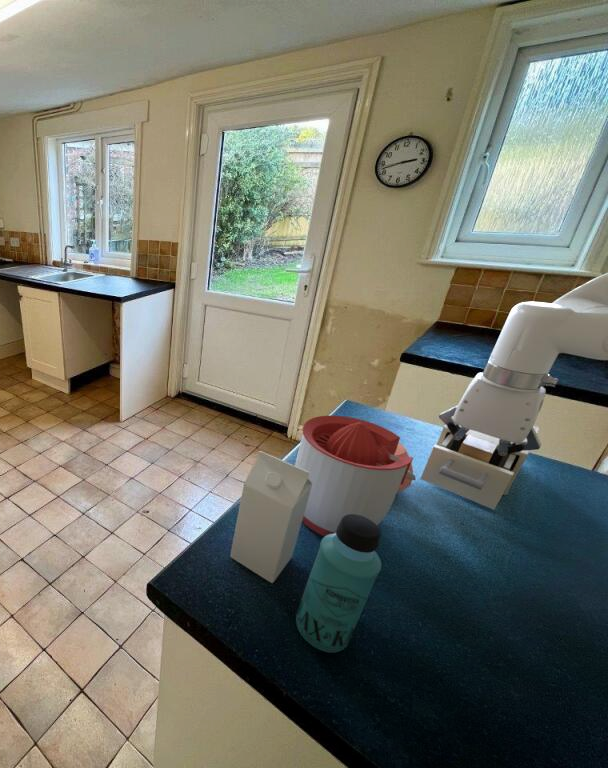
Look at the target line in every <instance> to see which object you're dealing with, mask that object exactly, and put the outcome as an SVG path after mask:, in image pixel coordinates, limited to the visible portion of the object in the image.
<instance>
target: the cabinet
mask: <svg viewBox="0 0 608 768" xmlns="http://www.w3.org/2000/svg"><path fill="white" fill-rule="evenodd" d="M452 419H453V416H452ZM459 426H460V425H459ZM460 427H461V426H460ZM533 428H534V430H535V432H536V434H537V435H538V433H539V431H540V429H541V426H537V425H535V424H534V425H533ZM450 433H451V432H450V430H449V429H448V427H447V425H446V424H444V426H443V428H442V430H441V432H440V435H439V437H438V440H437V442H436V444H435V445H438V446H441V444H442V443H443V442H444V441H445V439H446V438H447V437H448V436H449V434H450ZM465 435H466V437H467V436H468V435H470V436H473V437H476V438H479V439H482V440H485V441H488V442H491V443H494V444H497V445H498V446H499V438H495V437H492V436H489V435H486V434H483V433H480V432H477V431H474V430H471V429H470V430H469V431H468V432H467V433H466V434H465ZM466 437H465V438H466ZM526 441H527V439H526V438H525V440H524V441H523V442H526ZM511 443H514V442H511ZM498 446H497V448H498ZM530 451H531V450H527V451H526V450H524V451H520V452H515V453H513V454H516V457H515V459H514V461H513V463H512V465H511V467H510V469H509V471H511V472H514V474H513V476H512V478H511V480H510V482H509V484H508V485H507V487H506V489H505V491H504V493H503V495H504V496H506V495H507V494H508V493H509V491H510V489H511V486H513V483H514V481H515V479H516V477H518V474H519V472H520V471H521V469H522V467H523V464H524V463H525V462H526V458H527V457H528V456H529V454H530Z"/></svg>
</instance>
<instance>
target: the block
mask: <svg viewBox="0 0 608 768" xmlns="http://www.w3.org/2000/svg"><path fill="white" fill-rule="evenodd" d="M497 446H498V445H497V444H494V443H491V442H488V441H485V440H482V439H479V438H476V437H473V436H470V435H468V436H467V437H466V439H465V440H464V441H463V443H462V445H461V447H460V449H459V451H458V453H461V454H463V455H466V456H469V457H472V458H475V459H477V460H480V461H483V462H486V463H489V461H490V459H491V457H492V455H493V453H494V451H495V449H496V448H497Z"/></svg>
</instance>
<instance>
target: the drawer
mask: <svg viewBox="0 0 608 768" xmlns="http://www.w3.org/2000/svg"><path fill="white" fill-rule="evenodd" d="M453 441H454V438H453V435H452V433H450V434H449V436H448V437H447V438H446V439H445V441H444V442H443V443H442V444H441V446H438V445H436V444H434V445H433V447H432V450H431V452H430V454H429V457H428V459H427V461H426V464H425V466H424V469H423V470H422V473H421V475H420V480H422V481H424V482H427V483H429V484H431V485H433V486H436V487H438V488H441V489H443V490H446V491H448V492H451V493H453V494H455V495H458V496H460V497H462V498H465V499H467V500H470V501H473V502H474V503H476V504H479V505H482V506H484V507H486V508H489V509H490V510H491V509H492V510H496V508H497V506H498V504H499V503H500V500H501V498H502V497H503V495H504V494H503V493H504V491H505V489H506V487H507V485H508V484H509V482H510V480H511V478H512V476H513V474H514V472H511V471H509V469H510V467H511V465H512V463H513V461H514V459H515V457H516V454H513V453H511V454H507V455H505V456H503V458H502V460H501V462H500V464H499V466H498V467H497V466H494V465H491V464H489V463H486V462H483V461H480V460H477V459H475V458H472V457H469V456H466V455H463V454H461V453H458V452H455V451H452V450H450V448H451V446H452V444H453Z"/></svg>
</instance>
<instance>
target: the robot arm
mask: <svg viewBox="0 0 608 768" xmlns="http://www.w3.org/2000/svg"><path fill="white" fill-rule="evenodd" d="M559 354H567V355H571V356H578V357H583V358H587V359H592V360H597V361H598V360H599V361H608V272H606V273H604V274H601V275H599V276H597V277H595V278H592V279H591V280H589V281H587V282H585V283H583V284H581V285H580V286H578V287H576V288H574V289H573V290H570V291H568V292H567V293H565V294H563V295H562V296H560V297H559V298H557V299H556V300H554V301H553V302H552V303H550V302H543V301H523V302H519V303H517V304H516V305H514V306H513V307H512V308H511V310H510V311H509V314H508V316H507V318H506V320H505V323H504V324H503V326H502V329H501V331H500V334H499V336H498V338H497V340H496V343H495V345H494V347H493V349H492V351H491V353H490V356H489V358H488V361H487V363H486V364H485V368H484V369H483V371H482V372H478V373H477V374H476V375H475V376H474V378H473V379H472V380H471V381H470V383H469V385H468V386H467V388H466V390H465V392H464V393H463V395H462V397H461V399H460V400H459V403H458V404H457V405H455V406H453V407H451V408H448V409H446V410H445V411H443V412H441V413H440V414H439V415H438V418H439V420H441V422H442V423H443V424H444V425H447V427H448V429H449V430H450V432H451V433H452V435H453V438H454V441H453V444H452V446H451V448H450V450H452V451H455V452H458V451H459V449H460V447H461V445H462V443H463V441H464V440H465V439H466V438H465V437H466V435H465V434H466V433H467V432H468V431H469V430H470V429H471V430H474V431H477V432H480V433H483V434H486V435H489V436H492V437H495V438H499V446H498V448H496V449H495V451H494V453H493V455H492V457H491V459H490V461H489V464H491V465H494V466H497V467H498V466H499V464H500V462H501V460H502V458H503V456H505V455H507V454H511V453H515V452H520V451H524V450H526V451H527V450H530V451H537V450H540V449H541V447H542V443H541V440H540V438H539V436H538V433H537V434H536V432H535V430H534V428H533V425H534V426H535V423H536V421H537V418H538V416H539V413H540V411H541V409H542V406H543V403H544V401H545V397H546V391H547V390H546V388H545V386H546V387H550V386H551V387H554V388H555V387H556V385H557V383H558V382H559V378H557V377H553V376H551V374H550V371H551V369H552V367H553V365H554V363H555V362H556V359H557V358H558V356H559ZM452 417H453V419H452ZM459 425H460V426H461V427H460V426H459ZM525 438H526V439H527V441H526V442H523V441H524V440H525ZM511 442H514V443H511Z"/></svg>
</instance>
